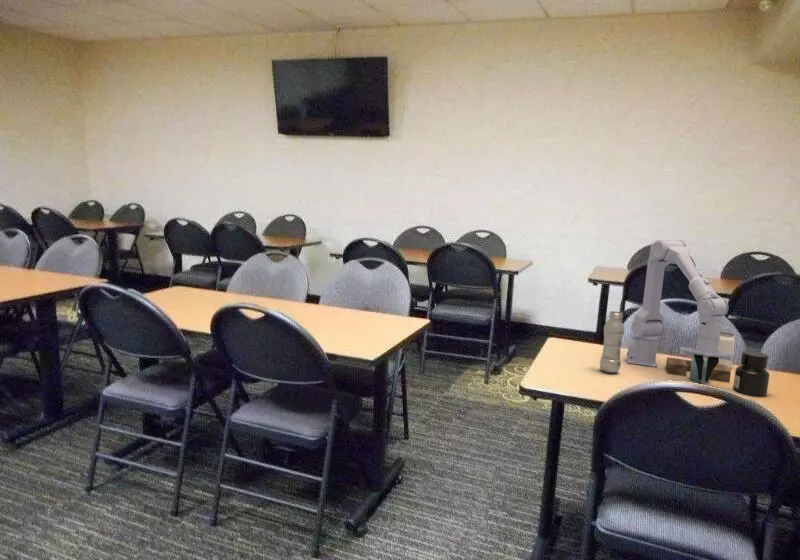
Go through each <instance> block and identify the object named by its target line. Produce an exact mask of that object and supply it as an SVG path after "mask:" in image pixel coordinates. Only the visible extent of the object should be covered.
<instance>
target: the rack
mask: <svg viewBox="0 0 800 560" xmlns="http://www.w3.org/2000/svg"><path fill="white" fill-rule="evenodd" d="M691 361H692V359H691V360H690V359H682V358H677V357H666V363H665V369H666V373H667V374H668V375H675V376H683V377H687V372H690V369H691ZM730 380H731V369H729V368H728V367H727V365H720V364H717V366H716V367H715V368H714V370H713V371H712V373H711V375H710V377H709V381H717V382H723V383H730Z"/></svg>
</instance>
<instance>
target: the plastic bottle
mask: <svg viewBox="0 0 800 560" xmlns="http://www.w3.org/2000/svg"><path fill="white" fill-rule="evenodd" d="M622 315H623V313H622V312H620V311H616V310H615V311H614V310H613V311H612V310H611V311H610V312H609V315H608V317H609V319H608V320H607V321H606V323H605V324H604V326H603V349H602V354H601V357H600V361H599V368H600V370H601V371H603V372H606V373H611V374H616V373H618V372H619V371H620V370H621V366H622V365H621V347H622V341H623V338H624V335H625V334H624V333H625V326H624V324H623V322H622V320H621V319H623V317H622Z"/></svg>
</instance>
